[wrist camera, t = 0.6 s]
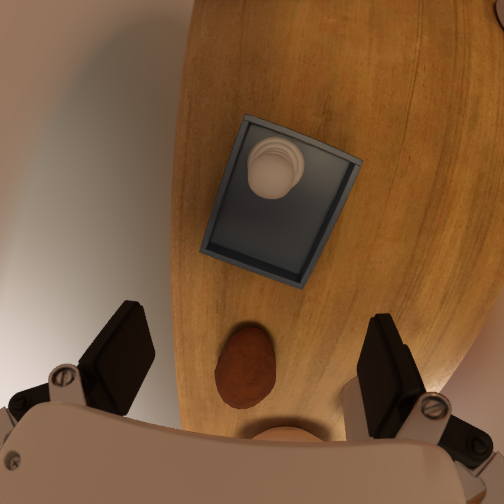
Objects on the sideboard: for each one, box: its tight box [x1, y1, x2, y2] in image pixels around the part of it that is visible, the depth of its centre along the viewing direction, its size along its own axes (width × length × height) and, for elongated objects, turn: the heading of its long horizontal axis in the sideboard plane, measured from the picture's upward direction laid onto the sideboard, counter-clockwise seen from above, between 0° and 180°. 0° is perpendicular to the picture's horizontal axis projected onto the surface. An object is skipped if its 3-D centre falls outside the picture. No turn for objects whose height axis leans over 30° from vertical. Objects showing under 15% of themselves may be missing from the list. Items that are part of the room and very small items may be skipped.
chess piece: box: [247, 136, 305, 199], centre depth 23 cm, size 5×5×9 cm
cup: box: [341, 376, 373, 441], centre depth 33 cm, size 9×9×12 cm
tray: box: [199, 114, 363, 290], centre depth 28 cm, size 14×11×2 cm
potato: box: [215, 327, 276, 409], centre depth 34 cm, size 8×12×8 cm, turn 171°
